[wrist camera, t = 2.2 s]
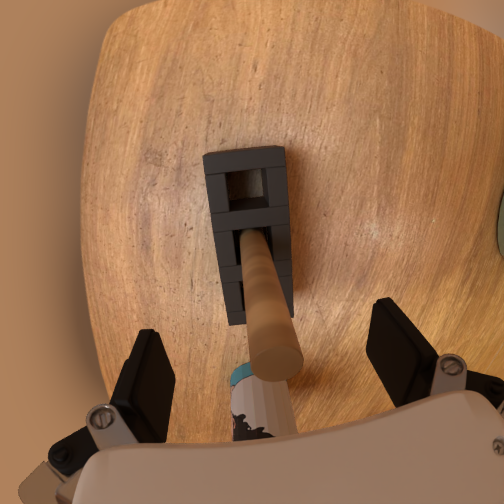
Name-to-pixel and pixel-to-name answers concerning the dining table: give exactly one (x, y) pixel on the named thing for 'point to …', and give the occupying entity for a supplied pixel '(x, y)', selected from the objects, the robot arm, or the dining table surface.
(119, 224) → the dining table surface
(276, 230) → the holder
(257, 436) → the printed cylindrical canister
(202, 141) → the dining table surface
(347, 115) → the dining table surface
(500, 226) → the bowl
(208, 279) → the dining table surface
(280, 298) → the stick
